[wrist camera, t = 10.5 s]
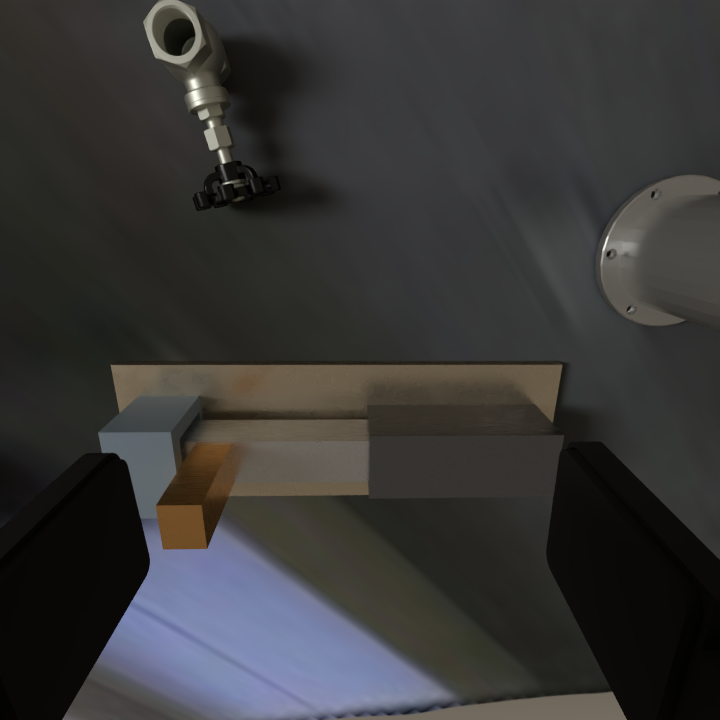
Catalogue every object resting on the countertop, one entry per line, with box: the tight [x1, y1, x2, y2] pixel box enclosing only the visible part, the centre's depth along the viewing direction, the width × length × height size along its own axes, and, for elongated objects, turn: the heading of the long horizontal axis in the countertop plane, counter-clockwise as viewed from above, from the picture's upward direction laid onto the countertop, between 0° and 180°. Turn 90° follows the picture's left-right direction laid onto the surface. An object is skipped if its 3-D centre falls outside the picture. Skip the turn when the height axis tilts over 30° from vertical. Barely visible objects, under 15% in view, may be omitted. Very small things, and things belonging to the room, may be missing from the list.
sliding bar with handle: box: [156, 419, 370, 549], centre depth 36 cm, size 23×4×12 cm, turn 89°
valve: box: [144, 0, 281, 211], centre depth 31 cm, size 7×7×12 cm
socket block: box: [98, 396, 202, 518], centre depth 39 cm, size 6×8×7 cm
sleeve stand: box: [111, 361, 564, 499], centre depth 40 cm, size 41×14×7 cm, turn 89°
